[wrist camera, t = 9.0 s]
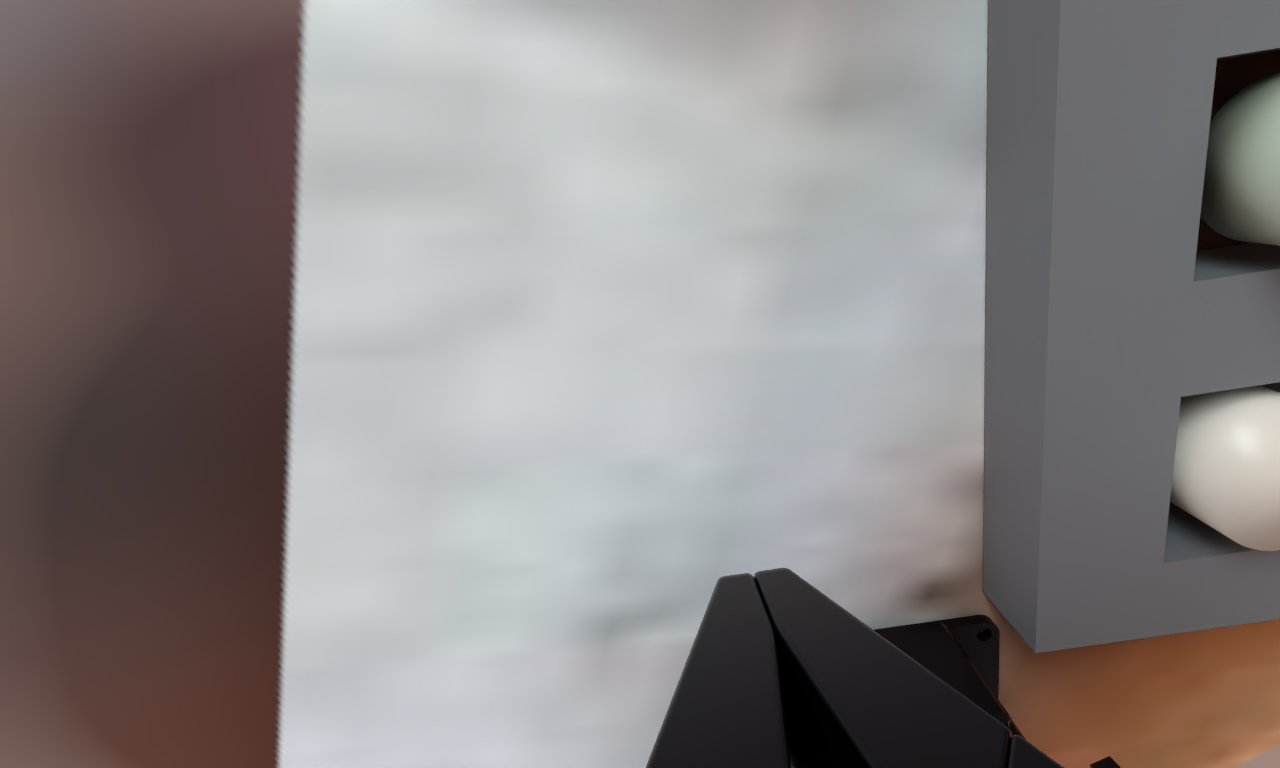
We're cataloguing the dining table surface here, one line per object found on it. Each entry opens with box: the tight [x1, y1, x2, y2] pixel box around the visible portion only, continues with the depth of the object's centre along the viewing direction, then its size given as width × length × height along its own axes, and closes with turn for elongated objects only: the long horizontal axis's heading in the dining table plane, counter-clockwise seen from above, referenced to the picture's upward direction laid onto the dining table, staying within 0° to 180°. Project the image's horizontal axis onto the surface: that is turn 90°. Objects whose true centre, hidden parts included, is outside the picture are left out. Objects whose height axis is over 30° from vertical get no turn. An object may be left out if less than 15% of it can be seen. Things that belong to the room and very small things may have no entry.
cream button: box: [1170, 385, 1280, 551], centre depth 19 cm, size 4×4×3 cm
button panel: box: [983, 0, 1280, 653], centre depth 17 cm, size 26×12×3 cm, turn 9°
